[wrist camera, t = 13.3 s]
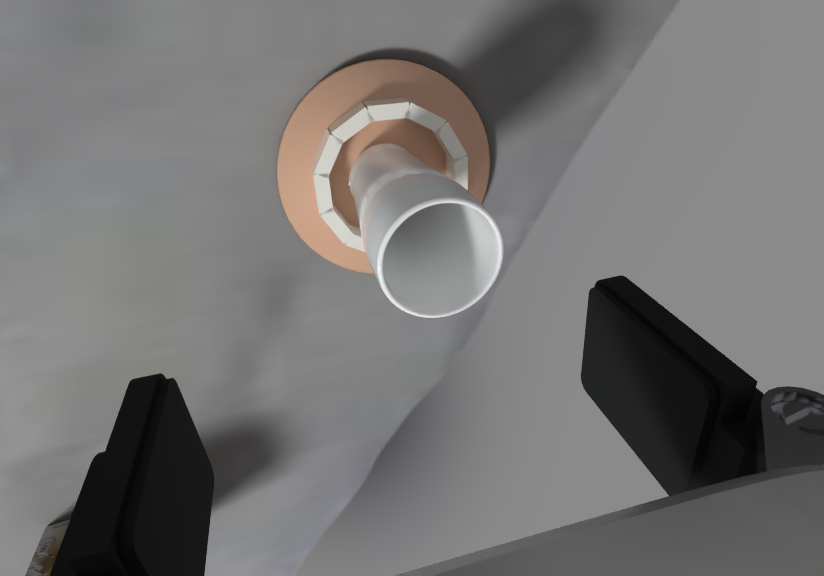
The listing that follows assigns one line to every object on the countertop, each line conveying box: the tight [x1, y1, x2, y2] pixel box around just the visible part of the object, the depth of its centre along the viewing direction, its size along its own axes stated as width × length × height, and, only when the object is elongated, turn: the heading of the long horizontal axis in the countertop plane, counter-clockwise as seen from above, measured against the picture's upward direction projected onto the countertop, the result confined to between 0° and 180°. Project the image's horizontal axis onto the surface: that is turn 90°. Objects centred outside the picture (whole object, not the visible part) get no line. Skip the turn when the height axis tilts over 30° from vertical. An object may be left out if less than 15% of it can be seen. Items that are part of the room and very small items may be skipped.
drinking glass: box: [349, 143, 504, 318], centre depth 32 cm, size 7×7×15 cm
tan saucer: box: [277, 59, 490, 273], centre depth 38 cm, size 16×16×3 cm
